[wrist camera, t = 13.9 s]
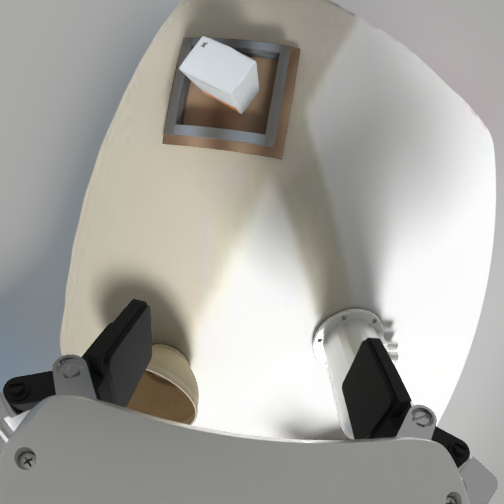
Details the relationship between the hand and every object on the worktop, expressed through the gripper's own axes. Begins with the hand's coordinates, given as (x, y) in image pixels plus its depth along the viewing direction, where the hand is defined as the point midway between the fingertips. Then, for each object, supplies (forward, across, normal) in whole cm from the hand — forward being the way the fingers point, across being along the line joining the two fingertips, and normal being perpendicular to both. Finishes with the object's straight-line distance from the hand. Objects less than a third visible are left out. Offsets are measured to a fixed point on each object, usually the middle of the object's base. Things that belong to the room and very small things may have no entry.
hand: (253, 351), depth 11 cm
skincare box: (+27, +7, -16) cm, 32 cm away
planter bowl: (+28, +13, +30) cm, 43 cm away
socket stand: (+28, +7, -16) cm, 33 cm away
